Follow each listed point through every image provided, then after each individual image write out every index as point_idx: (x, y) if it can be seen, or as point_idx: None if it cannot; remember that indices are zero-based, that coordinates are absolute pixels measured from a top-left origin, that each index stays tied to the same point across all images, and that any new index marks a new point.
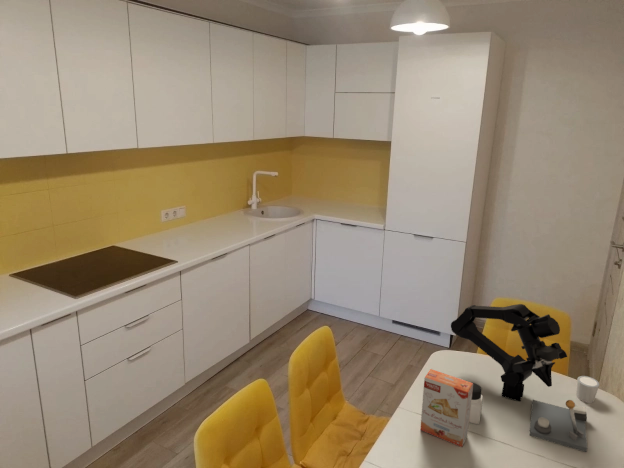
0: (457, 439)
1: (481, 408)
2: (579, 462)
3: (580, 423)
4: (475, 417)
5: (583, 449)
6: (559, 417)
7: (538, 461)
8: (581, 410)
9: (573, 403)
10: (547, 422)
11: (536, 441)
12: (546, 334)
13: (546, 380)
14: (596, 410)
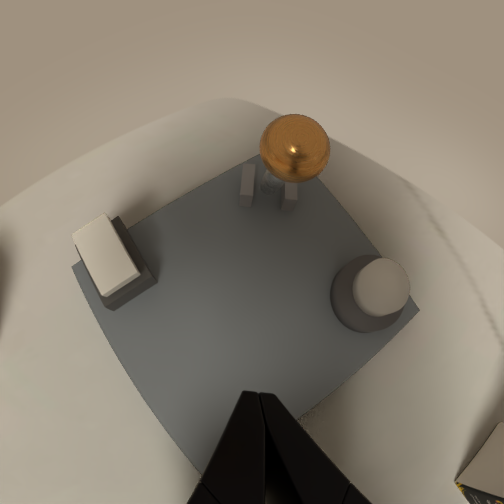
0: None
1: (471, 481)
2: (345, 145)
3: (157, 232)
4: None
5: None
6: (207, 312)
7: (454, 215)
8: (109, 234)
9: (297, 114)
10: (379, 266)
11: (408, 277)
12: None
13: (319, 451)
14: (10, 267)
